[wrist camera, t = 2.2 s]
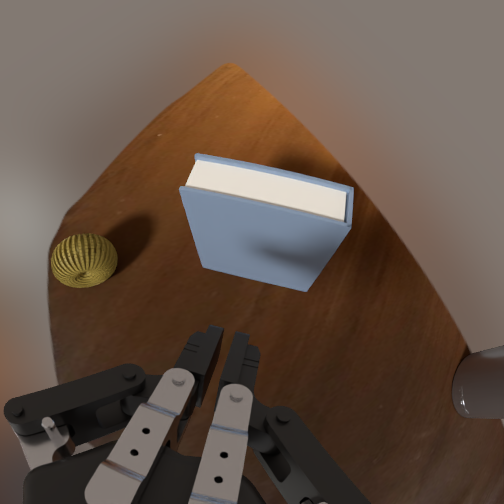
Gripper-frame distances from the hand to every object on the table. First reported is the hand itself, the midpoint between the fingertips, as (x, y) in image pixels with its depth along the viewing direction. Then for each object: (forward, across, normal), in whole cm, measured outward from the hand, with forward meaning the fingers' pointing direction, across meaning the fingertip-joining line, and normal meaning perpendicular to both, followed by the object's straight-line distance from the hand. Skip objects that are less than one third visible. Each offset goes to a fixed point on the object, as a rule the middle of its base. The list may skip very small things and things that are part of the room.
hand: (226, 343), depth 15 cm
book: (+19, 0, +4) cm, 20 cm away
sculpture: (+15, +18, +8) cm, 25 cm away
